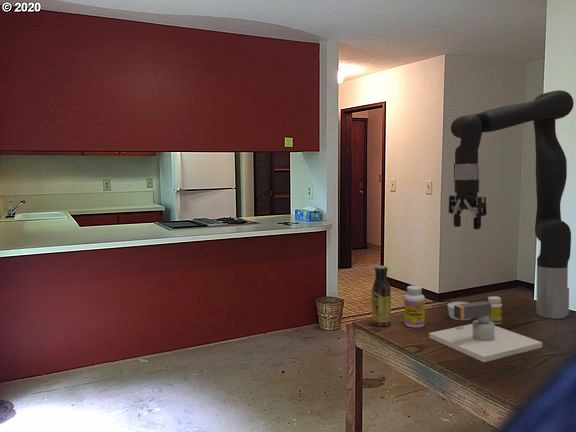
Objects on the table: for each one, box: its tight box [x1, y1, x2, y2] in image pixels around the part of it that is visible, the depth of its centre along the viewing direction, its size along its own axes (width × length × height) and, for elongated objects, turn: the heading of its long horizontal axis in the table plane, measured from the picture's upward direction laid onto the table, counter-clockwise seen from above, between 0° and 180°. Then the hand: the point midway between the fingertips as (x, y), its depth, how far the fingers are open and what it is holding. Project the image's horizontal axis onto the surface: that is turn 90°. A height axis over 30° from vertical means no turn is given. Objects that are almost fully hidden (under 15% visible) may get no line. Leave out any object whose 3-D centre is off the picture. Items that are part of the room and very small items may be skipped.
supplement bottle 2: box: [487, 295, 503, 325], centre depth 163 cm, size 5×5×8 cm
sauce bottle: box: [371, 265, 392, 327], centre depth 165 cm, size 7×6×20 cm
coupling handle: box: [454, 300, 491, 323], centre depth 144 cm, size 10×3×6 cm, turn 107°
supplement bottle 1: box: [403, 285, 426, 329], centre depth 164 cm, size 7×7×13 cm
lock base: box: [428, 319, 543, 363], centre depth 146 cm, size 22×22×6 cm
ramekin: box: [447, 301, 473, 321], centre depth 171 cm, size 9×9×4 cm
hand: (467, 227), depth 161 cm, fingers open, 8 cm apart
